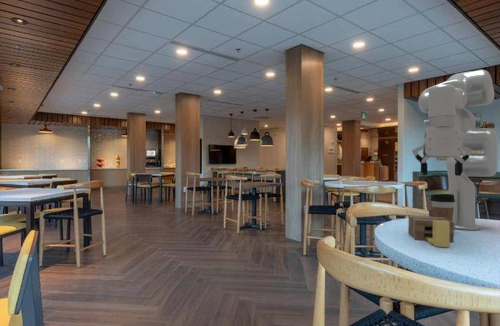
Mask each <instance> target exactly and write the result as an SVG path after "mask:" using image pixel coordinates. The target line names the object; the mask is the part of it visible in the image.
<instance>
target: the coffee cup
mask: <svg viewBox="0 0 500 326" xmlns="http://www.w3.org/2000/svg"><path fill="white" fill-rule="evenodd" d="M430 202H431V206H430V208H431V217H444V218H446V219H448V220H450V221H452V219H453V210H454V207H453V205H454V202H455V199H454V195H452V194H449V193H439V194H438V193H437V194H431V195H430Z"/></svg>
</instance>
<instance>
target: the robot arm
mask: <svg viewBox="0 0 500 326" xmlns="http://www.w3.org/2000/svg"><path fill="white" fill-rule="evenodd" d="M494 88H495V87H494V83H493V80H492V76H491V73H490V72H489V71H488V70H485V69H476V70H470V71H465V72H464V71H463V72H459V73H455V74H453V75H451V76H450V77H449V78H448V79H447V80H446V81H444V82H441V83H438V84H436V85H433V86H430V87H428V88H426V89H424V90H423V91H422V93H420V95H419V98H418V102H417V103H418V108H419V110H420V111H421V112H422V113H423V114H424V113H425V114H428V116H427V117H428V118H427V119H426V120H425V119H424V120H423V125H427V127H426V128H425V132H424V137H423V144H422V145H420V146H418V147H416V148H414V149H412V150H411V152H412V154H413V156H414V158H415V159H416V160H417V161H418V162H419V163H420V173H422V176H428V163H427V161H428V160H429V159H430V158H444V159H445V158H446V161H445V165H446V172H447V179H448V194H452V195H454V199H455V202H454V205H453V207H454V210H453V219H452V222H454V230H455V229H456V230H463V231H464V230H465V231H478V230H481V227H480V225H477V224H476V186H475V184H474V182H473V181H472V180H471V179H470V178H469V177H493V176H495V175H496V174H497V172H498V165H499V163H498V159H499V158H498V157H499V154H498V153H499V152H498V151H499V150H498V149H499V141H498V140H499V139H498V133H497V131H496V130H495V129H494V128H491V127H484V128H483V127H480V128H476V123H477V121H476V116H475V115H474V114H473V113H472V111H470V110H468V109H467V108H470V107H471V108H472V107H484V106H489V105H490V104H492V103H493V102H494V99H495V89H494ZM421 150H422V153H423V154H422V155H423V156H421V155H420V153H419V152H420V151H421ZM462 152H464V153H462ZM472 152H482V153H472Z"/></svg>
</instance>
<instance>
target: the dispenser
mask: <svg viewBox="0 0 500 326" xmlns="http://www.w3.org/2000/svg"><path fill="white" fill-rule="evenodd" d="M433 220H443V221H448V222H450V235H449V243H454V241H455V240H454V237H455V236H454V235H455V234H454V230H455V229H454V222H452V221H450V220H448V219H446V218H444V217H432V216H426V215H425V216H424V215H423V216H421V215H408V235H409V236H410V237H411V238H413V239H414V240H415V241H426V239H425V233H429V234H433Z"/></svg>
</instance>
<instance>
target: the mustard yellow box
mask: <svg viewBox="0 0 500 326" xmlns="http://www.w3.org/2000/svg"><path fill="white" fill-rule="evenodd" d="M449 235H450V222H448V221H443V220H433V234H429V233H425V241H427V242H428V243H429V244H431V245H433V246H435V247H443V248H450V242H449Z"/></svg>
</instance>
